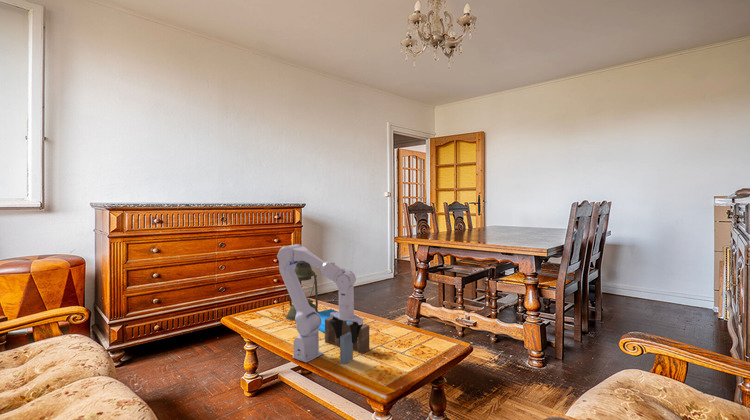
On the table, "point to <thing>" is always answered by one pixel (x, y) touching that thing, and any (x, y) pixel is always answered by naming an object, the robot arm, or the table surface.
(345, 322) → the domino
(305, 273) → the lantern
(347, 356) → the domino
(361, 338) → the domino
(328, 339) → the domino
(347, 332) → the domino
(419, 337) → the table surface
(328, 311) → the book
